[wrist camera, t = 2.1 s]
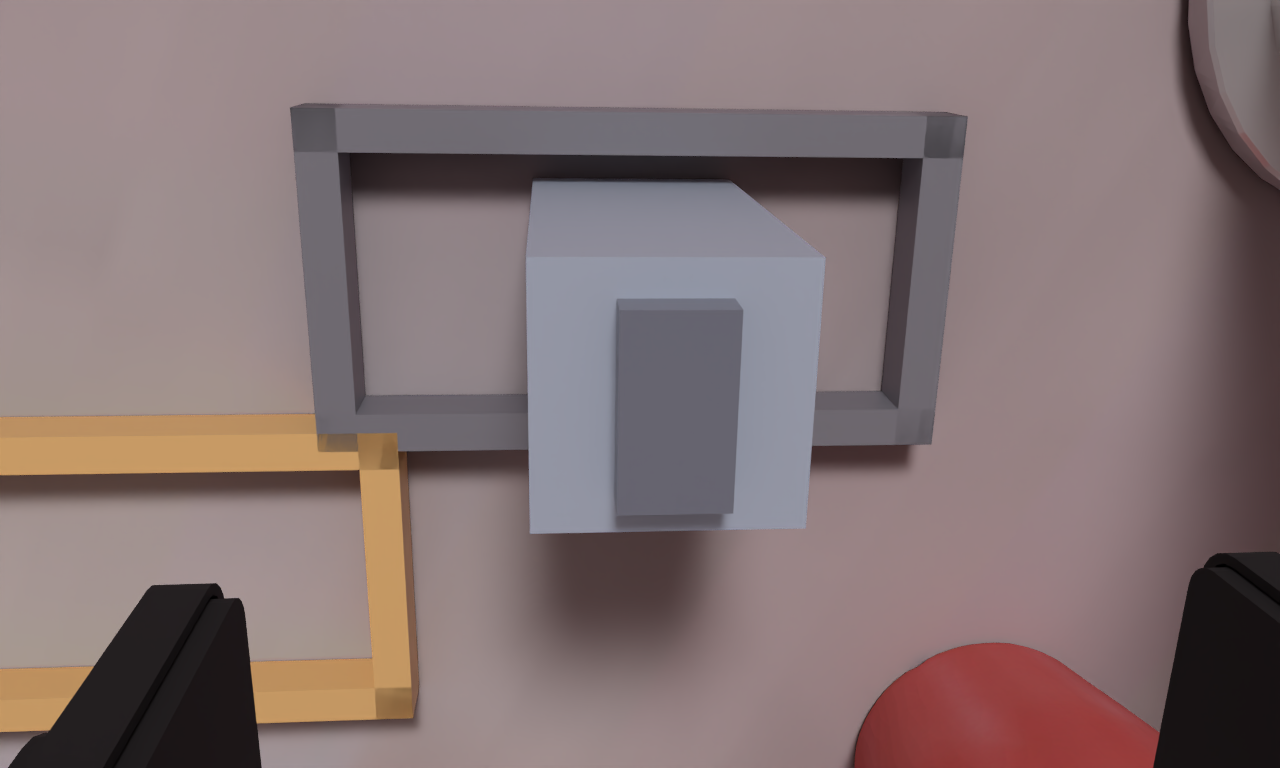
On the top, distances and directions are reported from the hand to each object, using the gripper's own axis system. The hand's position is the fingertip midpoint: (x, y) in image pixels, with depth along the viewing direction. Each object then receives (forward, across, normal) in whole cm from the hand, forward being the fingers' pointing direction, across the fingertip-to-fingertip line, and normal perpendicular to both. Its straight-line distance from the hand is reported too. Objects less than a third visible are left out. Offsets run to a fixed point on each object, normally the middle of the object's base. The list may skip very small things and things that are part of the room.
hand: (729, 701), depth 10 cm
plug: (+18, -1, 0) cm, 19 cm away
